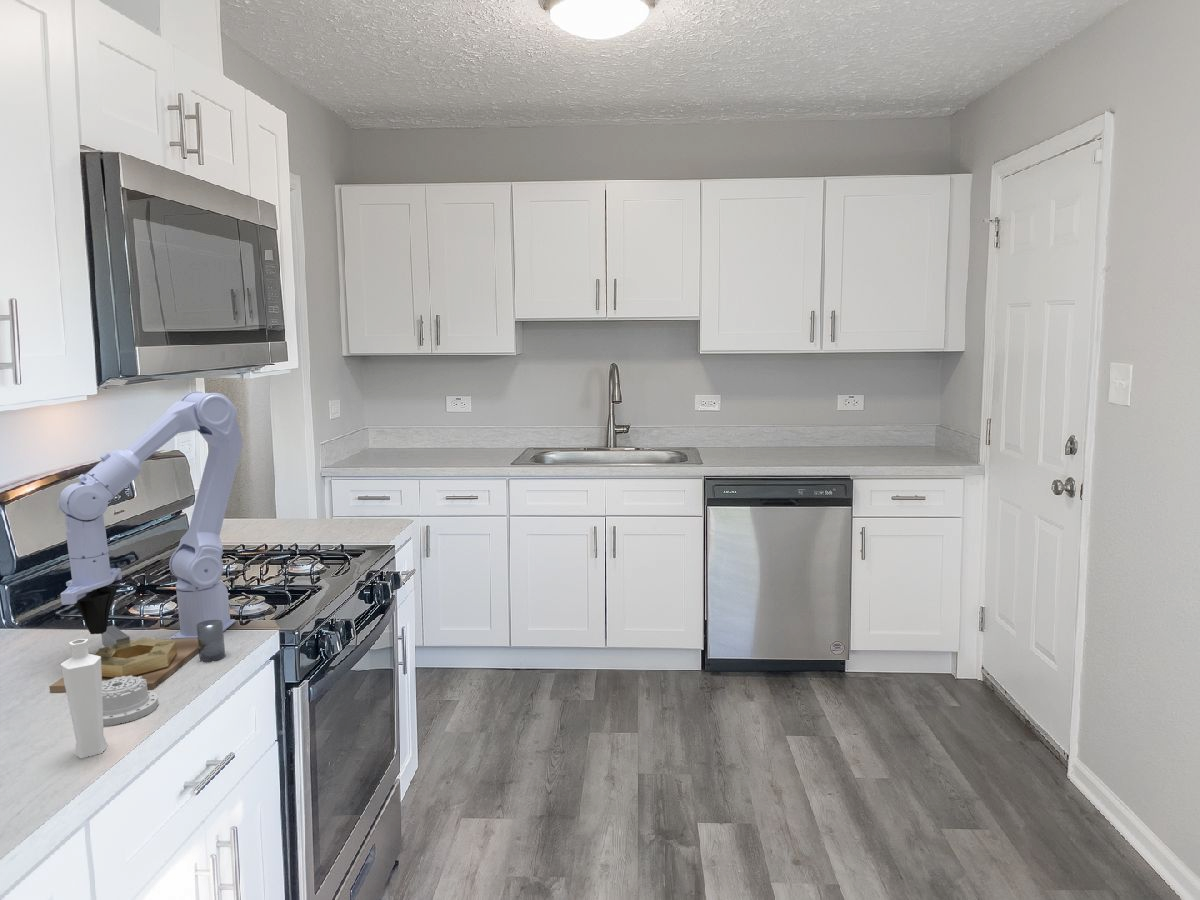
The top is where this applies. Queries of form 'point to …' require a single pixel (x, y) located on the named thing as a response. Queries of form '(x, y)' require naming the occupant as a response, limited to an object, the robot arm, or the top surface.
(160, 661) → the handled hexagon ring
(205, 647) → the steel pin
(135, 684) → the mechanical component
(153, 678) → the mount board
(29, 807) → the top surface
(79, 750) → the perfume bottle
